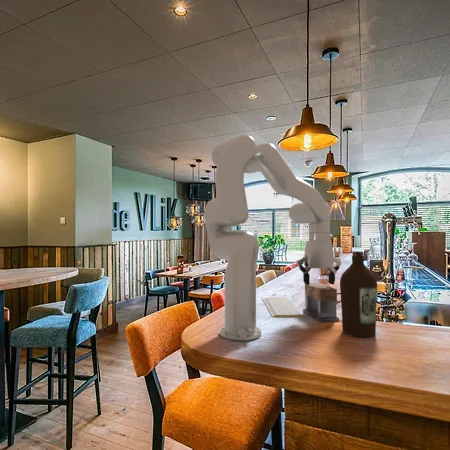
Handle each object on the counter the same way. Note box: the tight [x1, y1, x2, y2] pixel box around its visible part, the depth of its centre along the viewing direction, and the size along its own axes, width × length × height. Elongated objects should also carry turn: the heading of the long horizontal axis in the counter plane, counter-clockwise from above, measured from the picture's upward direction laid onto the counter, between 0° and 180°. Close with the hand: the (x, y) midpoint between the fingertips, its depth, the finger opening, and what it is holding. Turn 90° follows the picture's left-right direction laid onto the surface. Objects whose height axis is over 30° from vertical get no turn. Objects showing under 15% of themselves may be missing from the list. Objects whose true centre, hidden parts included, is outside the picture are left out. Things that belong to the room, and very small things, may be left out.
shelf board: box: [304, 282, 338, 301], centre depth 119 cm, size 14×6×4 cm, turn 8°
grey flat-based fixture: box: [302, 293, 340, 323], centre depth 119 cm, size 15×7×7 cm, turn 9°
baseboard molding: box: [261, 293, 302, 318], centre depth 134 cm, size 31×3×12 cm
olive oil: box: [339, 250, 378, 339], centre depth 99 cm, size 11×11×25 cm
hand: (319, 284), depth 119 cm, fingers open, 9 cm apart
